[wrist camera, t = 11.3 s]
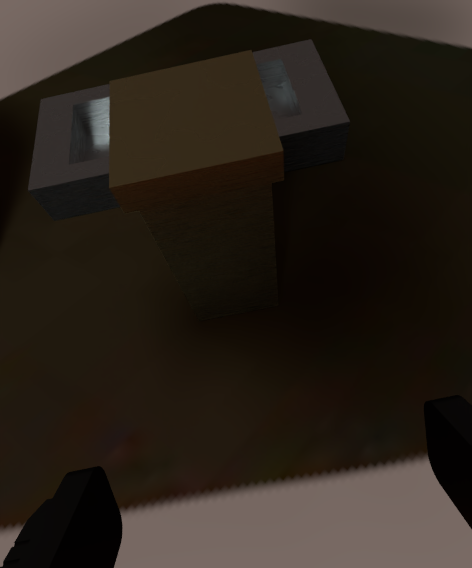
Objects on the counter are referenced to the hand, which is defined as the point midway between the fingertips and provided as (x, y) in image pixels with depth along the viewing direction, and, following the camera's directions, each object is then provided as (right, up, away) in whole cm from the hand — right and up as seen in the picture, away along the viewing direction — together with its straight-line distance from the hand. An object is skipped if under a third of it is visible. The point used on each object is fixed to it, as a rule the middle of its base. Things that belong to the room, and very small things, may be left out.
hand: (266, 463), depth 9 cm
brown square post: (-1, +5, +13) cm, 14 cm away
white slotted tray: (-4, +15, +18) cm, 24 cm away
